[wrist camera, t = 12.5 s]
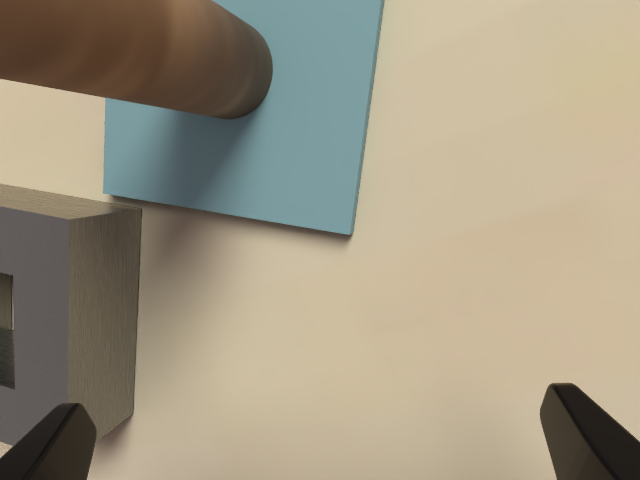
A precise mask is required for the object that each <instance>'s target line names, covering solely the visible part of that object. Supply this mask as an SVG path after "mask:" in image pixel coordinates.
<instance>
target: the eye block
mask: <svg viewBox="0 0 640 480" xmlns="http://www.w3.org/2000/svg"><path fill="white" fill-rule="evenodd" d="M140 231H141V209H140V208H135V207H129V206H123V205H117V204H112V203H106V202H100V201H94V200H89V199H83V198H77V197H71V196H66V195H60V194H54V193H49V192H43V191H37V190H31V189H26V188H20V187H14V186H8V185H3V184H0V441H1V442H4V443H6V444H9V445H12V446H14V445H15V444H16V443H17V442H18V441H19V440H20V439H22V438H23V437H24V436H25V435H26V434H27V433H28V432H29V431H30V430H31V429H32V428H33V427H34V426H35V425H37V424H38V423H39V422H40V421H41V420H42V419H43V418H44V417H45V416H46V415H47V414H48V413H49V412H50V411H52V410H53V409H54V408H55V407H56V406H58V405H60V404H63V403H81V404H83V405H84V407H85V408H86V410H87V412H88V413H89V415H90V417H91V419H92V420H93V422H94V424H95V426H96V429H97V438H96V442H97V441H99V440H100V439H101V438H102V437H104V436H105V435H106V434H108V433H109V432H110V431H111V430H113V429H114V428H115V427H117V426H118V425H119V424H120V423H122V422H123V421H124V420H126V419H127V418H128V417H129V416H131V415H132V414H133V403H134V379H135V354H136V329H137V305H138V280H139V256H140ZM11 275H13V297H14V331H13V330H12V314H11ZM96 442H95V443H96Z"/></svg>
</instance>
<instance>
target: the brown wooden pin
mask: <svg viewBox="0 0 640 480" xmlns="http://www.w3.org/2000/svg"><path fill="white" fill-rule="evenodd" d="M272 76H273V62H272V56H271V53H270V49H269V47H268V45H267V43H266V41H265V39H264V38H263V37H262V35H261V34H260V33H259V32H258V31H257V30H256V29H255V28H253V27H252V26H251V25H249V24H248V23H246V22H245V21H243V20H241V19H240V18H238V17H237V16H235V15H234V14H232V13H231V12H229V11H228V10H226V9H225V8H223V7H222V6H220V5H219V4H217V3H216V2H214V1H212V0H0V79H5V80H11V81H16V82H22V83H27V84H33V85H38V86H44V87H49V88H55V89H61V90H66V91H72V92H77V93H83V94H88V95H94V96H99V97H105V98H110V99H116V100H121V101H127V102H132V103H138V104H144V105H149V106H155V107H160V108H166V109H171V110H177V111H182V112H188V113H193V114H199V115H204V116H210V117H215V118H221V119H237V118H241V117H243V116H246V115H248V114H249V113H251V112H252V111H254V110H255V109H256V108H257V107H258V106H259V105H260V104H261V103H262V101H263V100H264V98H265V97H266V95H267V93H268V91H269V88H270V85H271V81H272Z"/></svg>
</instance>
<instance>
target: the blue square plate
mask: <svg viewBox="0 0 640 480" xmlns="http://www.w3.org/2000/svg"><path fill="white" fill-rule="evenodd" d="M212 1H214V2H216V3H217V4H219V5H220V6H222V7H223V8H225V9H226V10H228V11H229V12H231V13H232V14H234V15H235V16H237V17H238V18H240V19H241V20H243V21H245V22H246V23H248V24H249V25H251V26H252V27H253V28H255V29H256V30H257V31H258V32H259V33H260V34H261V35H262V37H263V38H264V39H265V41H266V43H267V45H268V47H269V49H270V53H271V56H272V62H273V76H272V81H271V85H270V88H269V91H268V93H267V95H266V97H265V98H264V100H263V101H262V103H261V104H260V105H259V106H258V107H257V108H256V109H255V110H254V111H252V112H251V113H249V114H248V115H246V116H243V117H241V118H237V119H221V118H215V117H210V116H204V115H199V114H193V113H188V112H182V111H177V110H171V109H166V108H160V107H155V106H149V105H144V104H138V103H132V102H127V101H121V100H116V99H110V98H106V102H105V143H104V185H103V193H104V194H110V195H116V196H121V197H127V198H133V199H139V200H145V201H151V202H157V203H163V204H169V205H175V206H181V207H187V208H193V209H199V210H205V211H210V212H216V213H222V214H228V215H234V216H240V217H246V218H252V219H258V220H264V221H270V222H276V223H282V224H288V225H294V226H299V227H305V228H311V229H317V230H323V231H329V232H335V233H341V234H347V235H351V234H352V233H353V231H354V223H355V216H356V208H357V201H358V193H359V186H360V178H361V171H362V164H363V156H364V149H365V141H366V134H367V126H368V119H369V111H370V104H371V96H372V89H373V81H374V74H375V66H376V59H377V51H378V44H379V36H380V29H381V22H382V14H383V7H384V0H212Z"/></svg>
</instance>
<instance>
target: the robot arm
mask: <svg viewBox="0 0 640 480" xmlns="http://www.w3.org/2000/svg"><path fill="white" fill-rule="evenodd" d="M540 419H541V424H542V427H543V431H544V434H545V438H546V442H547V445H548V449H549V452H550V456H551V459H552V463H553V466H554V470H555V474H556V477H557V480H640V442H639V441H638V440H637V439H636V438H635V437H634V436H633V435H632V434H630V433H629V432H628V431H627V430H626V429H625V428H624V427H623V426H621V425H620V424H619V423H618V422H617V421H616V420H615V419H613V418H612V417H611V416H610V415H609V414H608V413H607V412H606V411H604V410H603V409H602V408H601V407H600V406H599V405H598V404H596V403H595V402H594V401H593V400H592V399H591V398H590V397H589V396H587V395H586V394H585V393H584V392H583V391H582V390H581V389H580V388H578V387H577V386H576V385H574V384H572V383H552V384H550V385H549V386H548V388H547V391H546V393H545V396H544V399H543V402H542V405H541V408H540ZM96 438H97V429H96V426H95V424H94V422H93V420H92V419H91V417H90V415H89V413H88V412H87V410H86V408H85V407H84V405H83V404H81V403H63V404H60V405H58V406H56V407H55V408H54V409H53V410H52V411H50V412H49V413H48V414H47V415H46V416H45V417H44V418H43V419H42V420H41V421H40V422H39V423H38V424H37V425H35V426H34V427H33V428H32V429H31V430H30V431H29V432H28V433H27V434H26V435H25V436H24V437H23V438H22V439H20V440H19V441H18V442H17V443H16V444H15V445H14V446H13V447H12V448H11V449H10V450H9V451H8V452H6V453H5V454H4V455H3V456H2V457H1V458H0V480H87V476H88V472H89V468H90V463H91V459H92V455H93V451H94V447H95V442H96Z"/></svg>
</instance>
